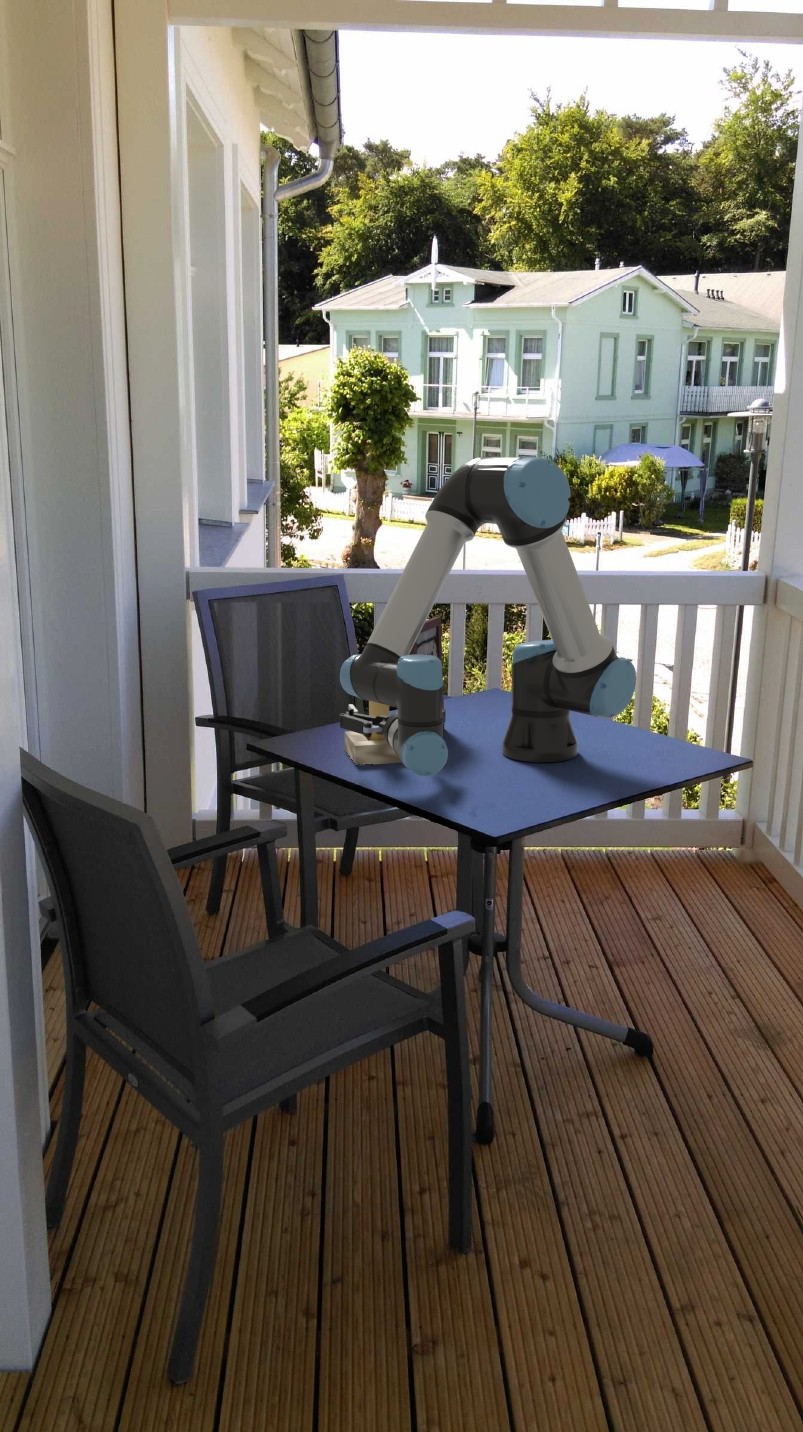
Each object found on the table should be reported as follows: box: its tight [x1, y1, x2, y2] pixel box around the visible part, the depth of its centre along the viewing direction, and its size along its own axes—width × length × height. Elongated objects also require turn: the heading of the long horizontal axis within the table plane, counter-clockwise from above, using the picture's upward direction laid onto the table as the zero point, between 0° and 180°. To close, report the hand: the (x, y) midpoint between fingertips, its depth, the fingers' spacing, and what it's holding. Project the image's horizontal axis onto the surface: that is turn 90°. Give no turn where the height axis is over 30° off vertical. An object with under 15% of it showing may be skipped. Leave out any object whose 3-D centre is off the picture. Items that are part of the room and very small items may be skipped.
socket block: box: [344, 730, 403, 766], centre depth 234 cm, size 12×12×4 cm
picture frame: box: [409, 616, 445, 730], centre depth 248 cm, size 17×10×25 cm, turn 158°
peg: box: [368, 701, 390, 741], centre depth 232 cm, size 4×4×18 cm
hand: (385, 709), depth 226 cm, fingers open, 13 cm apart
